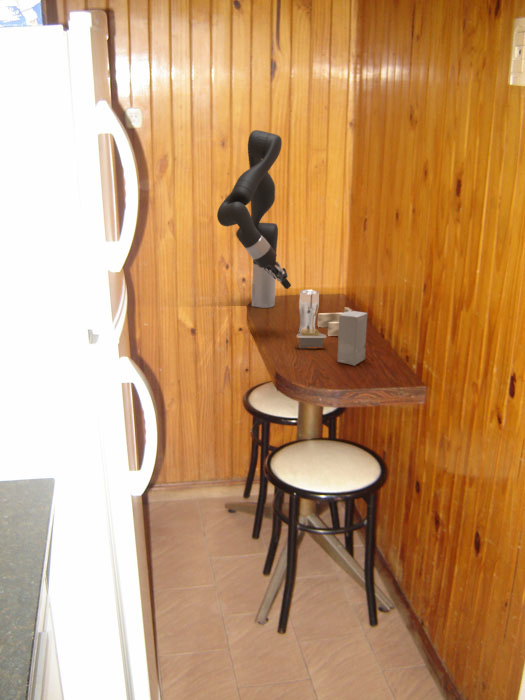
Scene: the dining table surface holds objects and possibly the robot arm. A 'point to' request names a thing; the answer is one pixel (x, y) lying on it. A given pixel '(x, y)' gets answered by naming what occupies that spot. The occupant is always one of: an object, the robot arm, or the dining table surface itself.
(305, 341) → the platform
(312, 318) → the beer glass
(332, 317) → the bracket
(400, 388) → the dining table surface
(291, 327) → the dining table surface
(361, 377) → the dining table surface
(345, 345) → the skincare box
